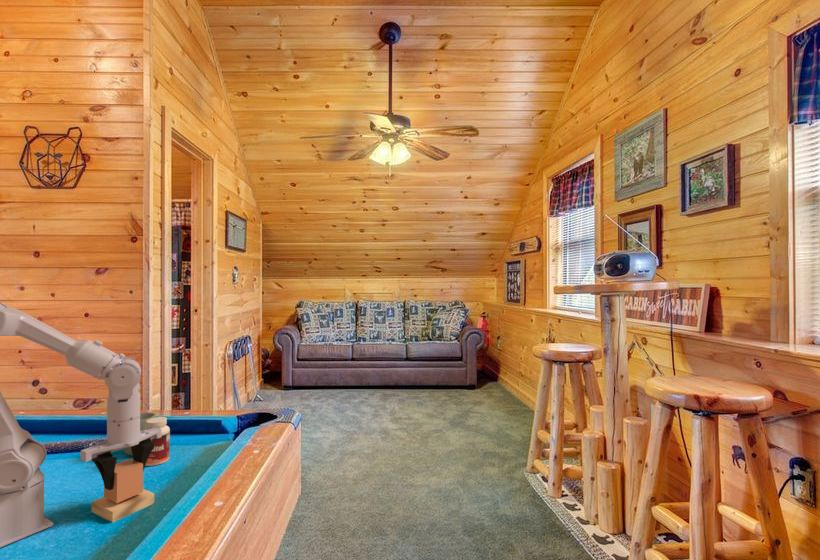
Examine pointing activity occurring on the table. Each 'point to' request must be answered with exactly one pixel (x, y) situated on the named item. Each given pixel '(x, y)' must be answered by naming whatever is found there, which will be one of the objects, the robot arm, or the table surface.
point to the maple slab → (122, 506)
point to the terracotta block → (126, 481)
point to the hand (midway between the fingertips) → (123, 482)
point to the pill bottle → (159, 442)
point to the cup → (141, 427)
